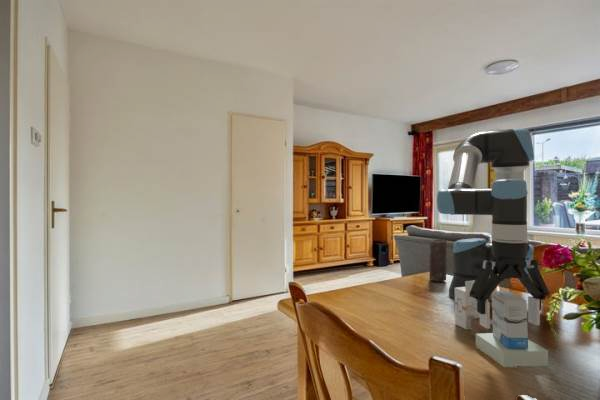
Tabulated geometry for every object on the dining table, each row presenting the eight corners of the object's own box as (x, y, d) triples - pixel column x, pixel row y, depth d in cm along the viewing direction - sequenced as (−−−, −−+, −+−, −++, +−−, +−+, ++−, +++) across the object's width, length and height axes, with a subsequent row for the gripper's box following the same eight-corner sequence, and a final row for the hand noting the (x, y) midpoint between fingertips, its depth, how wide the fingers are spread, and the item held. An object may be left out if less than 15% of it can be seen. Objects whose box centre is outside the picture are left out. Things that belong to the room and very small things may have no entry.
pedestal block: (514, 346, 89) (514, 332, 89) (548, 367, 78) (547, 350, 78) (475, 348, 89) (475, 333, 89) (503, 369, 78) (503, 352, 78)
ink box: (529, 349, 78) (527, 299, 79) (506, 348, 79) (505, 299, 79) (512, 335, 87) (510, 290, 87) (492, 334, 88) (490, 290, 88)
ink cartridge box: (475, 321, 107) (475, 275, 107) (488, 326, 102) (488, 279, 102) (453, 324, 104) (453, 277, 104) (465, 330, 100) (465, 281, 99)
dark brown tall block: (450, 282, 156) (449, 239, 156) (439, 284, 152) (439, 240, 152) (436, 278, 162) (435, 238, 162) (426, 280, 159) (425, 239, 158)
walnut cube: (483, 333, 97) (483, 316, 97) (499, 340, 93) (499, 322, 93) (470, 336, 95) (470, 319, 95) (486, 343, 91) (486, 325, 91)
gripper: (540, 237, 89) (541, 316, 89) (454, 240, 85) (454, 322, 85) (566, 241, 81) (567, 327, 81) (472, 244, 78) (473, 333, 78)
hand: (509, 325), depth 83 cm, fingers open, 13 cm apart
